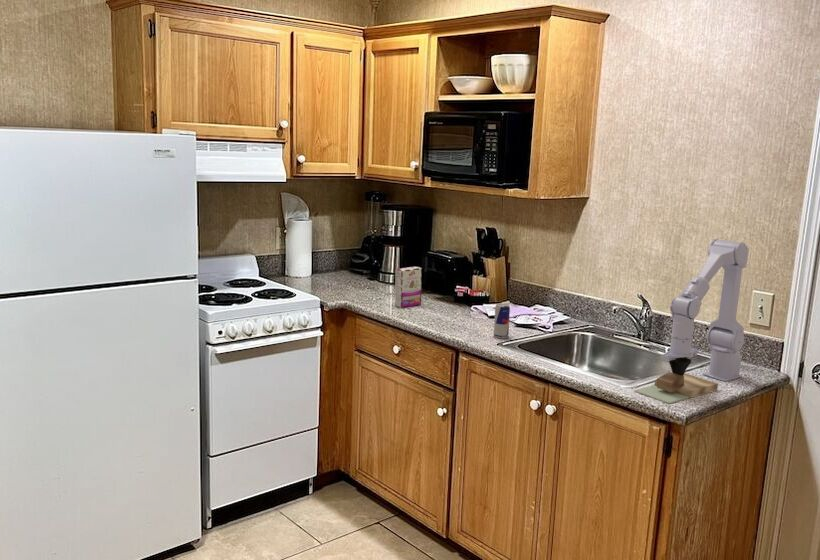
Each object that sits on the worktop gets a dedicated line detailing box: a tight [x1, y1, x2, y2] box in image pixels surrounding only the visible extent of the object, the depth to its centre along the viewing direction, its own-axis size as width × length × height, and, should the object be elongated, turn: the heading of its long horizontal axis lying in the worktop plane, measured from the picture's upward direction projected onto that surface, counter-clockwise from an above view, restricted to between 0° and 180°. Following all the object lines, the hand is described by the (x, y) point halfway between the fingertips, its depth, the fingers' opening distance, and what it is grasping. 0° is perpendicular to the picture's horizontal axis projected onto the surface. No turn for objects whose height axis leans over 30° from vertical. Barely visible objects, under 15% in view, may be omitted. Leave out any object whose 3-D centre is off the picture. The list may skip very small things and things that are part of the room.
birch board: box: [654, 372, 719, 399], centre depth 224 cm, size 14×12×2 cm
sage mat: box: [633, 384, 690, 405], centre depth 217 cm, size 9×12×1 cm
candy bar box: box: [394, 266, 423, 309], centre depth 319 cm, size 11×5×16 cm, turn 129°
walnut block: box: [656, 371, 684, 393], centre depth 219 cm, size 6×5×3 cm
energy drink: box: [493, 303, 511, 340], centre depth 274 cm, size 5×5×12 cm
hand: (677, 381), depth 221 cm, fingers closed, pressing on walnut block
